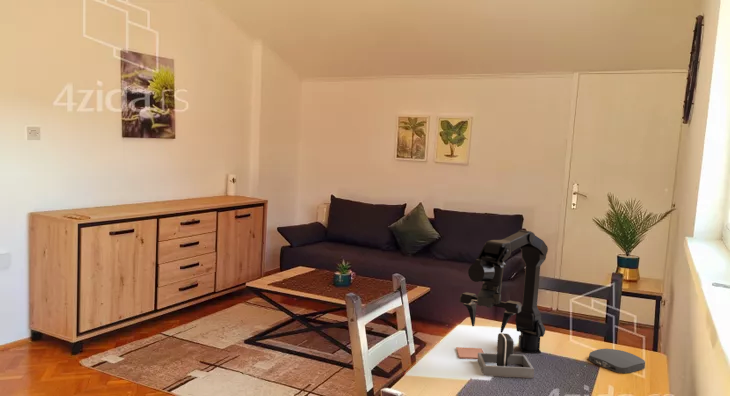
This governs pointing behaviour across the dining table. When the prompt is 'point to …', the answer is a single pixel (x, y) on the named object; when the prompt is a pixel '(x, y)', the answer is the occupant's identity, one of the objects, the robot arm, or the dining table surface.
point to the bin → (505, 370)
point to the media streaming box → (617, 360)
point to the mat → (468, 352)
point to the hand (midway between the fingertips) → (487, 329)
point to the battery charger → (504, 349)
